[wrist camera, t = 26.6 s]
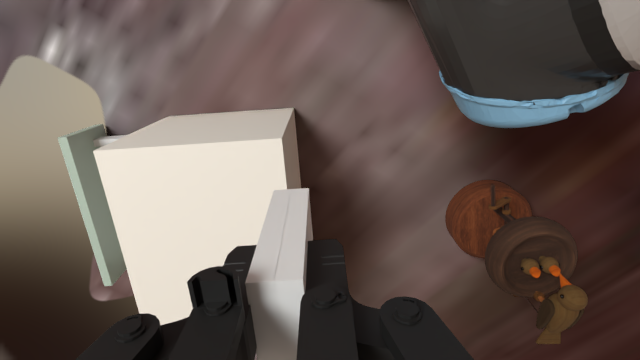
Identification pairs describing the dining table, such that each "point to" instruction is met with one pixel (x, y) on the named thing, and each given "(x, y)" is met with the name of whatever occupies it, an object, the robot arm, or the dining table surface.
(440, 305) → the dining table surface
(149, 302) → the housing
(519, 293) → the bird nest figurine
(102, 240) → the tray
